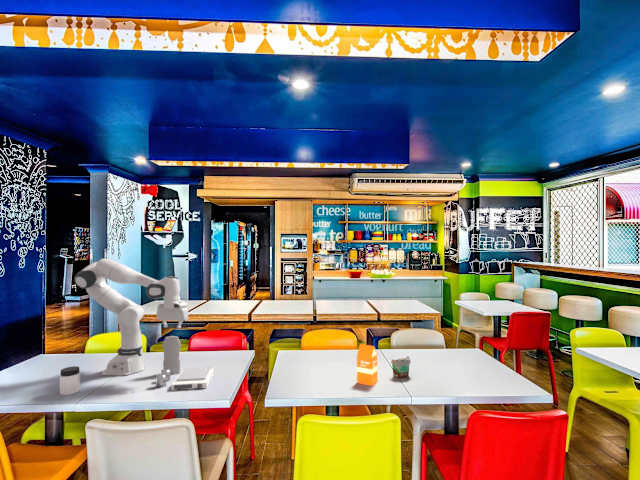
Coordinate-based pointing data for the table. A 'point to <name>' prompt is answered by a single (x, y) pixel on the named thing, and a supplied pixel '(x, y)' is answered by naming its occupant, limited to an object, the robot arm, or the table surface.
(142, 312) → the robot arm
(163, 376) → the cylinder
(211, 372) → the white rimmed tray
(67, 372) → the jar
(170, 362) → the tall pale column
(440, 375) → the table surface
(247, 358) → the table surface
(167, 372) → the cylinder
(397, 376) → the food container
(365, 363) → the orange juice
